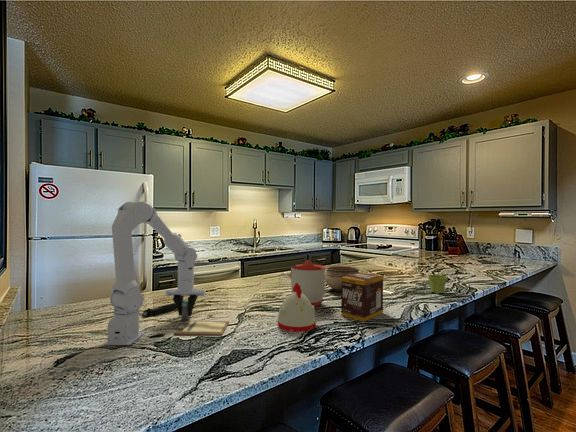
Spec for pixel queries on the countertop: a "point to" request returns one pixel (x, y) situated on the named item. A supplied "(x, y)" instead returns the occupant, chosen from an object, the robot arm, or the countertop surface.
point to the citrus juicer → (309, 281)
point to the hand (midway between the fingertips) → (185, 314)
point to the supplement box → (362, 296)
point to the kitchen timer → (296, 312)
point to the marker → (184, 311)
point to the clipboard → (202, 328)
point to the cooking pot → (338, 275)
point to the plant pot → (437, 283)
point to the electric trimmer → (159, 310)
